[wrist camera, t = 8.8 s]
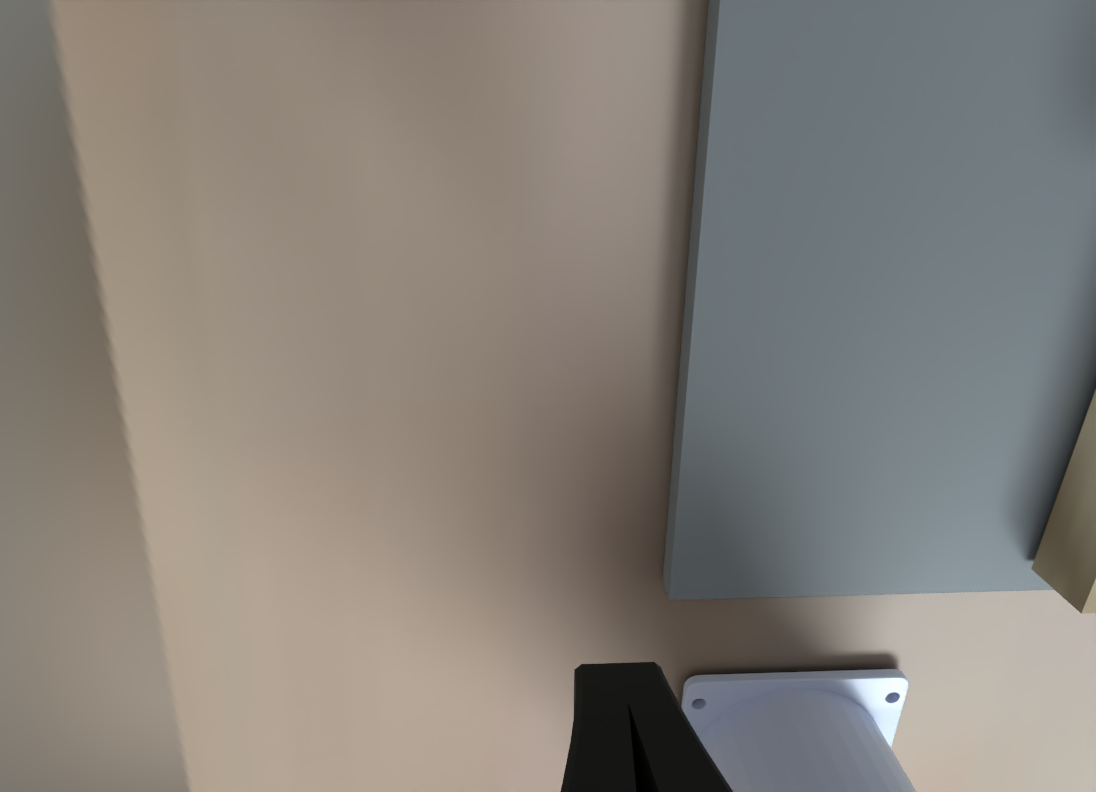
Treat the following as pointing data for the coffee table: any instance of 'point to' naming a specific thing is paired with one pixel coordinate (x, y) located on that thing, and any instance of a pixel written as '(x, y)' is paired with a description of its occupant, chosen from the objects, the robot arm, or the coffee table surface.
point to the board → (884, 296)
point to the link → (1074, 526)
